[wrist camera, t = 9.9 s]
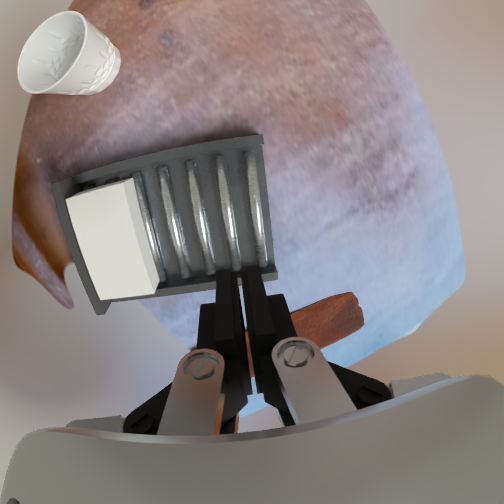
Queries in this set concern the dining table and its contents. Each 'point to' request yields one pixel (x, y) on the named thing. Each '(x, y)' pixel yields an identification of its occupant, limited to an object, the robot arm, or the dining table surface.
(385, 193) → the dining table surface
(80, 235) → the slab
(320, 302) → the wooden tablet
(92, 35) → the white cup
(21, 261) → the dining table surface
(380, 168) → the dining table surface
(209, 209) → the roller track
